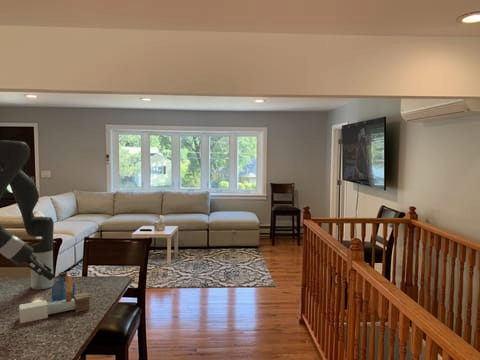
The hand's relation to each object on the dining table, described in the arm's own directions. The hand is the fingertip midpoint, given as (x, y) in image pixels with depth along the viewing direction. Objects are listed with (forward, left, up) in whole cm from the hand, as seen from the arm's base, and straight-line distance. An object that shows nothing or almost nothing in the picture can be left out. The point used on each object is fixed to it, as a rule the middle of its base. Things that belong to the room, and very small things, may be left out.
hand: (51, 275), depth 141 cm
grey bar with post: (0, +3, -15) cm, 15 cm away
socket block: (0, +11, -16) cm, 19 cm away
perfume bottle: (-13, +6, -16) cm, 21 cm away
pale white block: (0, -6, -16) cm, 17 cm away
